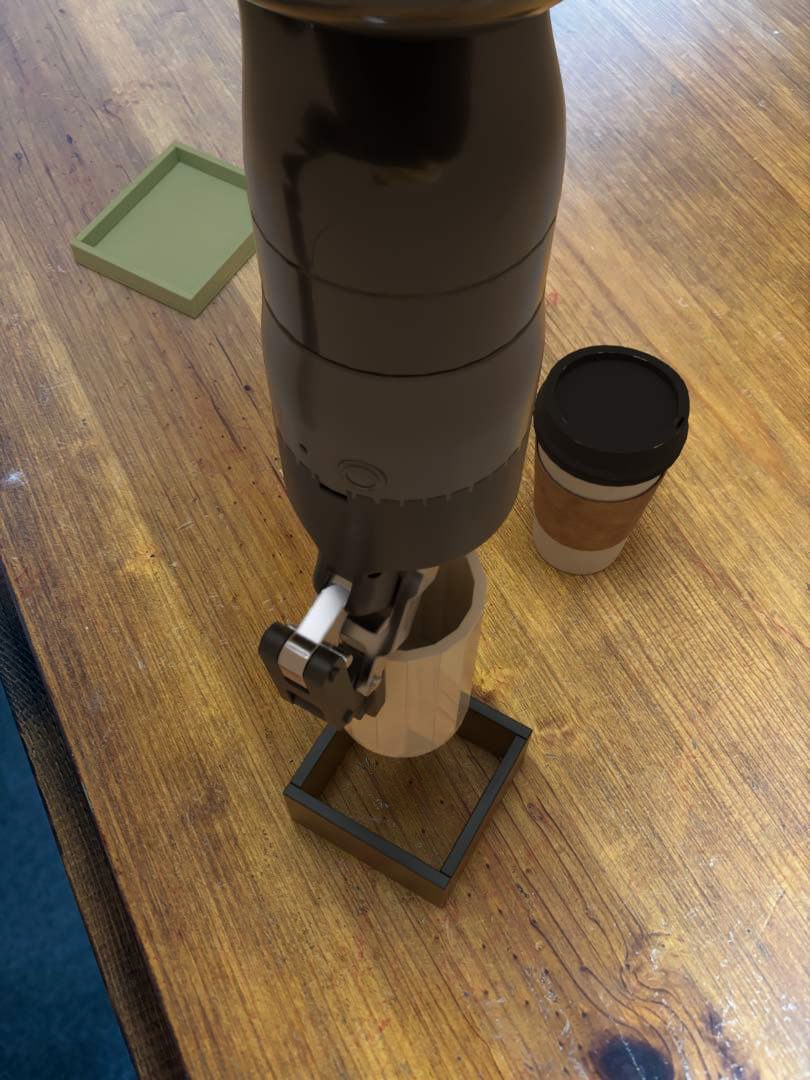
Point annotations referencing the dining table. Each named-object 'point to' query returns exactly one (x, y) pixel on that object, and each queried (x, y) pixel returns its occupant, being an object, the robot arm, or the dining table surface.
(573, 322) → the dining table surface
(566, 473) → the coffee cup
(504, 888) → the dining table surface
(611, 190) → the dining table surface
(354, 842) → the open square frame
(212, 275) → the tray
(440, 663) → the cup
